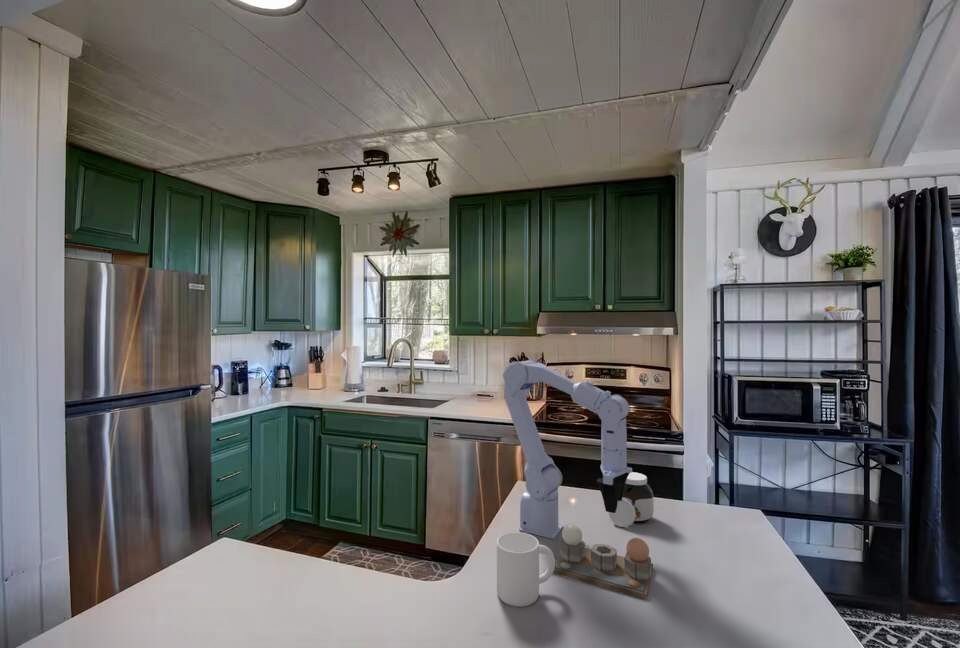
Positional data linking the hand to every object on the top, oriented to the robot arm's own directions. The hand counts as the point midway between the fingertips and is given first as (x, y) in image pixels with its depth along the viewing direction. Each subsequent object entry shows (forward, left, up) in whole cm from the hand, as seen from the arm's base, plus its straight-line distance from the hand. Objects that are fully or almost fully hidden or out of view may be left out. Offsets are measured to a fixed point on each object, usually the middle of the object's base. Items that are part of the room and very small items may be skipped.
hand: (614, 505), depth 101 cm
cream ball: (-8, -9, -5) cm, 13 cm away
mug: (-12, -25, -11) cm, 30 cm away
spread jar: (+1, +18, -11) cm, 21 cm away
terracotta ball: (+6, -9, -5) cm, 12 cm away
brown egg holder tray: (0, -10, -10) cm, 14 cm away
